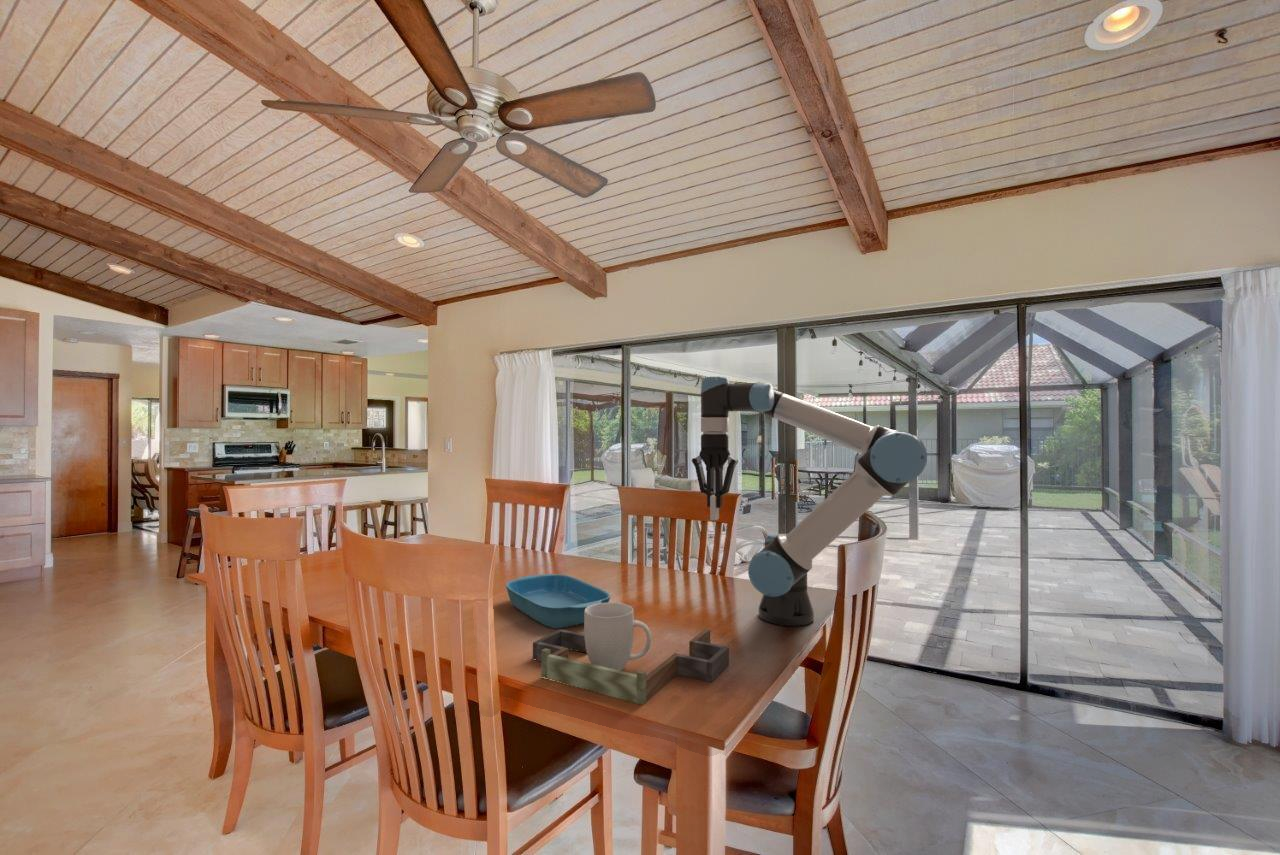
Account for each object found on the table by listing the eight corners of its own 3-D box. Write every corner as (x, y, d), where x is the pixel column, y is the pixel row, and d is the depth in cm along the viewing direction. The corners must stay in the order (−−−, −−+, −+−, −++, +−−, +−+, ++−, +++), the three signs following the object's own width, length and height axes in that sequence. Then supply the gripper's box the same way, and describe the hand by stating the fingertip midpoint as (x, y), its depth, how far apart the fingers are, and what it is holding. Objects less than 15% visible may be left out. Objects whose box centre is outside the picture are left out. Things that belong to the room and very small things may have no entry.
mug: (651, 658, 135) (651, 602, 135) (651, 679, 124) (651, 617, 124) (586, 658, 135) (586, 601, 135) (581, 678, 124) (581, 617, 124)
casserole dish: (624, 621, 161) (624, 596, 161) (552, 639, 148) (552, 611, 148) (559, 591, 191) (559, 569, 191) (494, 604, 177) (494, 580, 177)
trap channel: (741, 651, 139) (741, 626, 139) (680, 714, 109) (680, 682, 109) (599, 623, 159) (599, 601, 159) (512, 671, 128) (512, 643, 128)
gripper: (741, 433, 160) (741, 519, 160) (698, 433, 166) (697, 515, 166) (732, 433, 153) (732, 523, 153) (687, 433, 160) (687, 519, 159)
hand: (714, 519), depth 160 cm, fingers closed
